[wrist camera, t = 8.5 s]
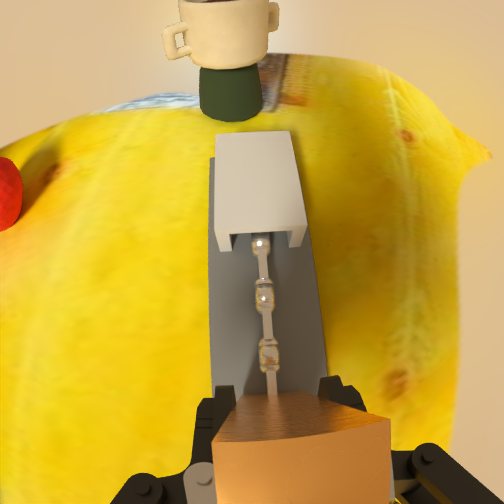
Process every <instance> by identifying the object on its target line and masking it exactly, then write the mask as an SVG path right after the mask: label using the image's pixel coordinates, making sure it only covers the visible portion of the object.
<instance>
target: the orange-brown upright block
mask: <svg viewBox="0 0 504 504" xmlns="http://www.w3.org/2000/svg"><path fill="white" fill-rule="evenodd" d="M251 247H252V253H253V255H254V256H255V257H256V258H258V272H259V278H258V279H257V280H256V281H255V284H254V292H255V307H256V310H257V311H258V313H260V314H261V315H262V328H263V337H262V338H261V339H260V340H259V343H258V353H259V367H260V371H261V372H262V373H263V374H264V375H266V386H267V393H262V394H244V395H241V396H240V398H239V399H238V401H237V403H236V405H235V407H234V408H233V410H232V411H231V412H230V414H229V415H228V417H227V419H226V420H225V422H224V423H223V425H222V427H221V428H220V430H219V431H218V433H217V434H216V436H215V437H214V439H213V441H212V442H211V443H212V455H213V466H214V476H215V486H216V495H217V503H218V504H389V493H390V472H391V425H390V419H388V418H384V417H381V416H377V415H374V414H370V413H367V412H364V411H360V410H357V409H354V408H351V407H348V406H345V405H342V404H339V403H336V402H333V401H329V400H326V399H323V398H321V397H318V396H316V395H313V394H310V393H308V392H305V391H302V390H296V391H286V392H277V383H276V374H277V373H278V372H279V370H280V367H281V364H280V351H279V342H278V340H277V339H276V338H275V337H274V336H273V329H272V316H271V314H272V313H273V312H274V310H275V307H276V302H275V290H274V283H273V281H272V279H271V278H269V277H268V267H267V257H268V256H269V254H270V251H271V247H270V236H269V232H254V233H251Z"/></svg>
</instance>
